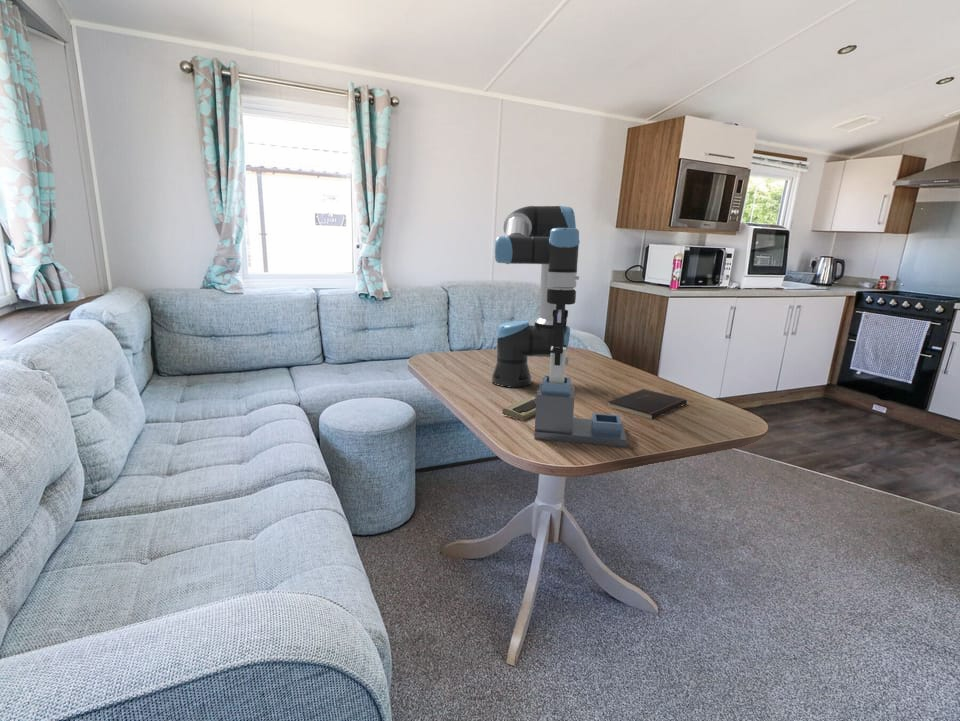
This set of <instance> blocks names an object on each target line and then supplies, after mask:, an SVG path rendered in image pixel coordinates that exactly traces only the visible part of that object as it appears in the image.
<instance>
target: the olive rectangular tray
mask: <svg viewBox="0 0 960 721" xmlns="http://www.w3.org/2000/svg"><path fill="white" fill-rule="evenodd" d="M535 413H536V396H535V397H534V396H528V397H526V398H524V399H522V400H521V399H520V400H519V401H516V402H514V403H512V404H510V405H508V406H506V407H504V408H502V413H501V415H502V414H504V415H507V416H511V417H514V418H517V419H522V420H524V421H526V420H528V419H530V418H532V417H534V416H535ZM533 415H534V416H533ZM531 416H532V417H531ZM529 417H530V418H529ZM514 418H513V419H514ZM527 418H528V419H527ZM517 419H516V420H517ZM525 419H526V420H525Z"/></svg>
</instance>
